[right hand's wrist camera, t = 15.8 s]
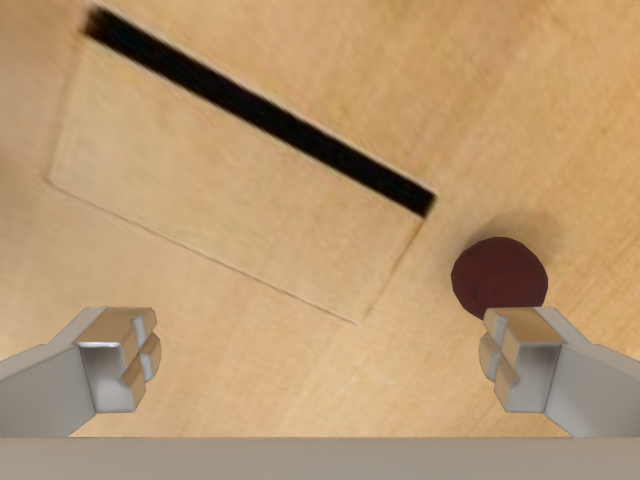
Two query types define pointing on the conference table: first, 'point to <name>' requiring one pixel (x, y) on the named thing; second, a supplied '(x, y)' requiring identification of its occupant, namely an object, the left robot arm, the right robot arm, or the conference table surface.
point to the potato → (498, 276)
